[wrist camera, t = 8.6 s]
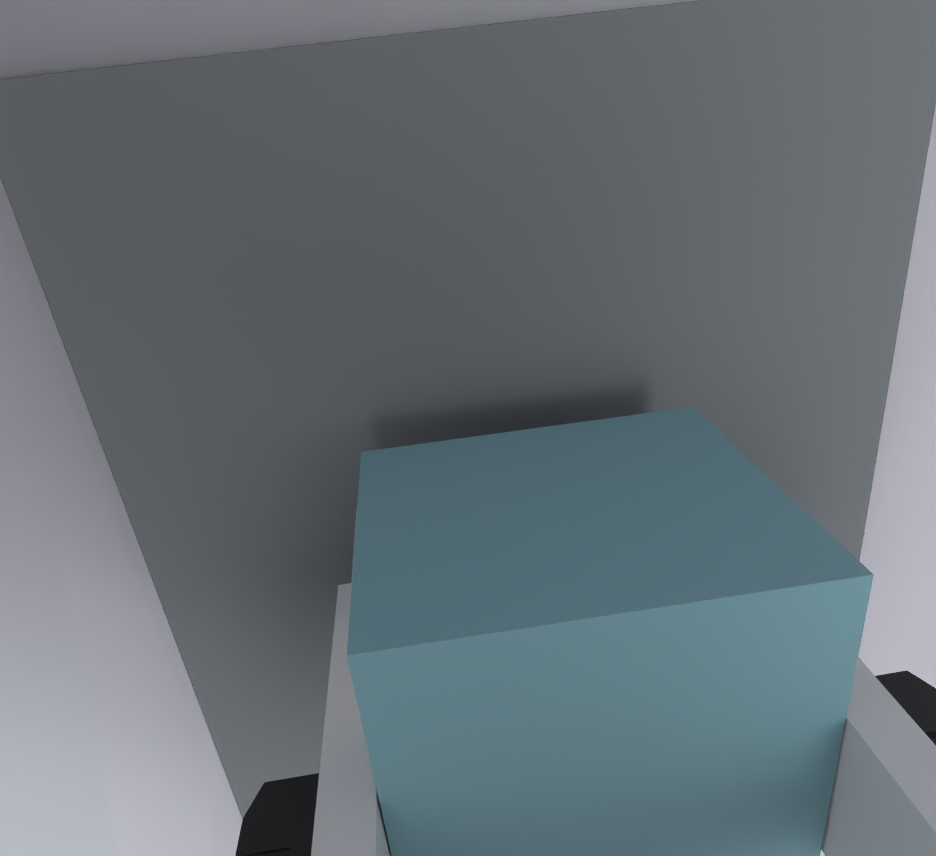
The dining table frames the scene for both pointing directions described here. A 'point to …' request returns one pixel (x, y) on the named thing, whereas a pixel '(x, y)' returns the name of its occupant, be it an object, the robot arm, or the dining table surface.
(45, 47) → the dining table surface
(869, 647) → the dining table surface
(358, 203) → the mat
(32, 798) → the dining table surface
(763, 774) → the box
